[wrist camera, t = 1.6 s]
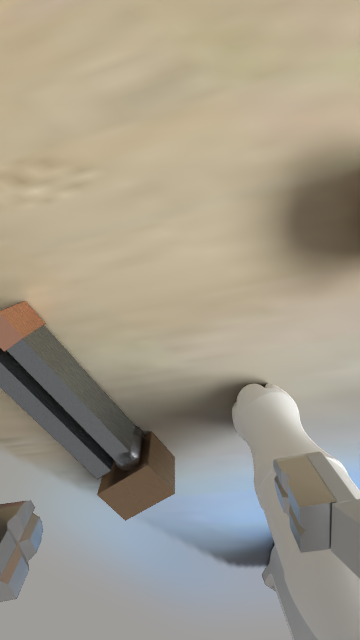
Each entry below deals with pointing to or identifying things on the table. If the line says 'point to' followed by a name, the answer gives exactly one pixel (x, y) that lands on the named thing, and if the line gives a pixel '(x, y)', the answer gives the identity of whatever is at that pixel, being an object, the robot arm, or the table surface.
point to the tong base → (94, 446)
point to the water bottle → (299, 568)
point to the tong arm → (69, 384)
